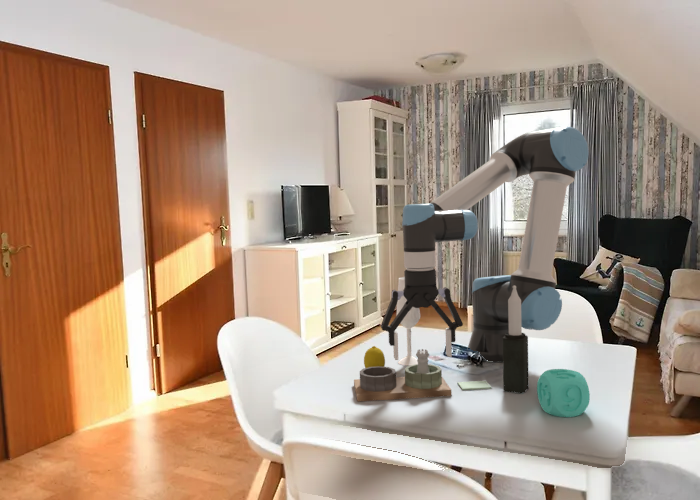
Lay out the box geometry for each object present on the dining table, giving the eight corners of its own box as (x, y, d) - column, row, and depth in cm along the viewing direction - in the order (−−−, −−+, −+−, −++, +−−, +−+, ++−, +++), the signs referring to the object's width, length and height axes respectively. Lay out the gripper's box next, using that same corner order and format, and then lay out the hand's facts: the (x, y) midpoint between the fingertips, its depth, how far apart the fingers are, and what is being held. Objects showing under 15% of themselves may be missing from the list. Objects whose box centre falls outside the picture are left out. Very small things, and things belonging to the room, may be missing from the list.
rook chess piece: (434, 379, 145) (433, 348, 144) (430, 386, 141) (430, 354, 140) (416, 378, 147) (415, 347, 146) (412, 385, 143) (411, 353, 141)
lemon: (383, 379, 153) (382, 348, 153) (362, 378, 154) (361, 348, 154) (386, 373, 159) (385, 343, 158) (366, 372, 160) (365, 343, 159)
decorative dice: (571, 402, 131) (571, 367, 130) (590, 415, 123) (590, 378, 123) (536, 405, 130) (536, 370, 129) (553, 419, 122) (553, 381, 122)
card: (485, 382, 148) (485, 380, 147) (491, 388, 143) (491, 387, 143) (457, 383, 147) (457, 382, 147) (462, 390, 142) (462, 388, 142)
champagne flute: (405, 366, 164) (402, 280, 162) (393, 361, 170) (390, 277, 168) (426, 363, 166) (423, 278, 164) (413, 357, 172) (411, 275, 170)
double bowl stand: (440, 380, 150) (440, 361, 150) (451, 396, 138) (451, 375, 138) (354, 385, 149) (353, 365, 149) (357, 401, 137) (356, 380, 137)
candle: (523, 394, 138) (522, 287, 136) (502, 391, 141) (500, 286, 138) (529, 387, 142) (528, 284, 140) (508, 384, 145) (506, 283, 143)
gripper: (466, 264, 146) (468, 350, 148) (367, 269, 145) (370, 355, 146) (474, 268, 139) (476, 358, 140) (370, 272, 137) (373, 364, 139)
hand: (422, 357), depth 143 cm, fingers open, 12 cm apart
